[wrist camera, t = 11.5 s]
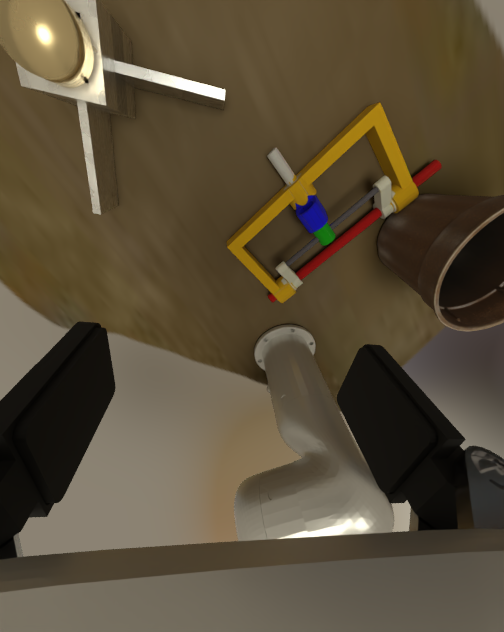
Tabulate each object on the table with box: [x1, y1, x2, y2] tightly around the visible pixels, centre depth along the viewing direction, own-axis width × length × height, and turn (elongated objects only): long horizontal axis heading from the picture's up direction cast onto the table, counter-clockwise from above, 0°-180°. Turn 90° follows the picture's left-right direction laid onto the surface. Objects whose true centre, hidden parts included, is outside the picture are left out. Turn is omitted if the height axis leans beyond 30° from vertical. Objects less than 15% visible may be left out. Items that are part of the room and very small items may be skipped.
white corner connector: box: [16, 0, 225, 214], centre depth 26 cm, size 16×16×9 cm
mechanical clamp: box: [227, 102, 441, 303], centre depth 34 cm, size 18×6×30 cm
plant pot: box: [377, 194, 504, 331], centre depth 34 cm, size 16×16×16 cm
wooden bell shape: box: [0, 0, 94, 88], centre depth 21 cm, size 5×5×11 cm
